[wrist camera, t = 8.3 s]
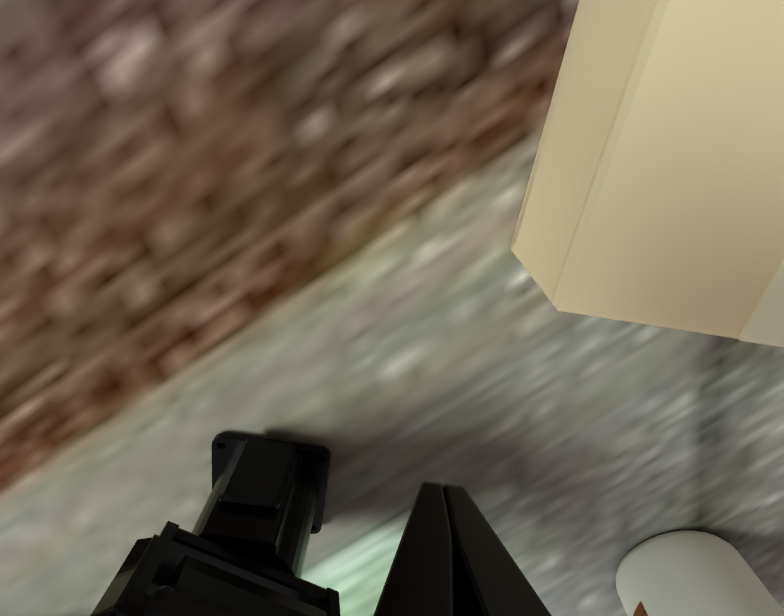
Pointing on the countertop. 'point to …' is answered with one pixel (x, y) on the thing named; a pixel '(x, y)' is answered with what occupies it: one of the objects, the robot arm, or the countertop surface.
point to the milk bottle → (691, 579)
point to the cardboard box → (578, 131)
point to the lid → (692, 181)
